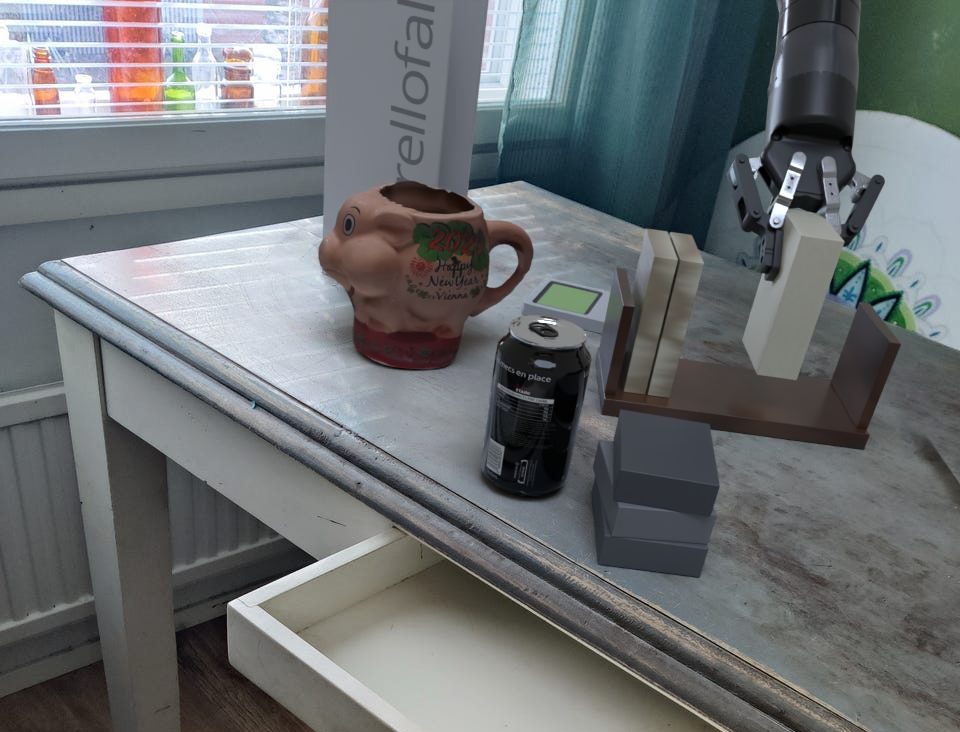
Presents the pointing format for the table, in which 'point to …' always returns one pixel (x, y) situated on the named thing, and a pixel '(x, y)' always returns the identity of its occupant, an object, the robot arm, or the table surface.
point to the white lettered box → (400, 95)
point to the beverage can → (535, 404)
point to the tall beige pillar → (792, 296)
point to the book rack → (724, 388)
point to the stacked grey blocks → (655, 494)
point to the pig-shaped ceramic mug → (417, 269)
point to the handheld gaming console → (569, 303)
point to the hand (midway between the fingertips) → (796, 279)
